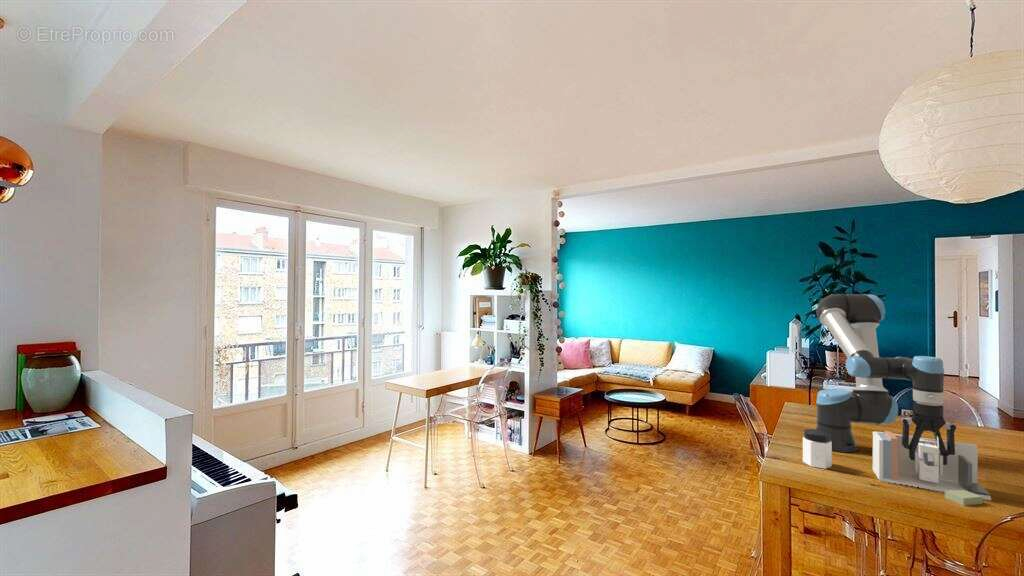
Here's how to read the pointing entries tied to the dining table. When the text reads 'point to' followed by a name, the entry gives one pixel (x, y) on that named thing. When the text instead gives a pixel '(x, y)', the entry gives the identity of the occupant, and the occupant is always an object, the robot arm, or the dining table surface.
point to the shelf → (898, 467)
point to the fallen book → (963, 497)
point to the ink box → (928, 460)
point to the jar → (817, 448)
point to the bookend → (968, 477)
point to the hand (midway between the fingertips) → (927, 471)
